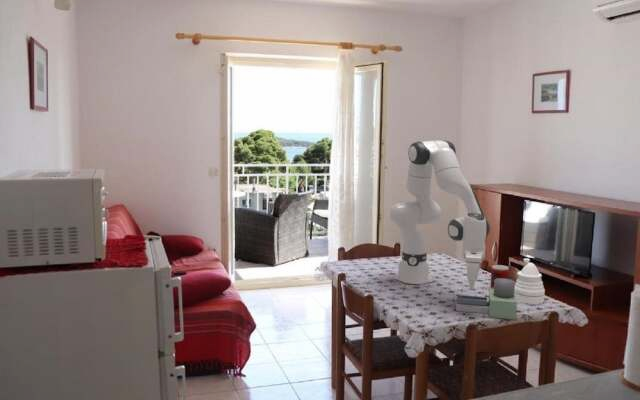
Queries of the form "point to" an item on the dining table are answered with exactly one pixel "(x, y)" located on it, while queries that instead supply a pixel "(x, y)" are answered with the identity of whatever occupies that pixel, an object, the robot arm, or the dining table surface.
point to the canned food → (498, 273)
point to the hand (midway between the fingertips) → (471, 285)
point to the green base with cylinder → (497, 301)
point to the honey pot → (529, 285)
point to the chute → (472, 300)
